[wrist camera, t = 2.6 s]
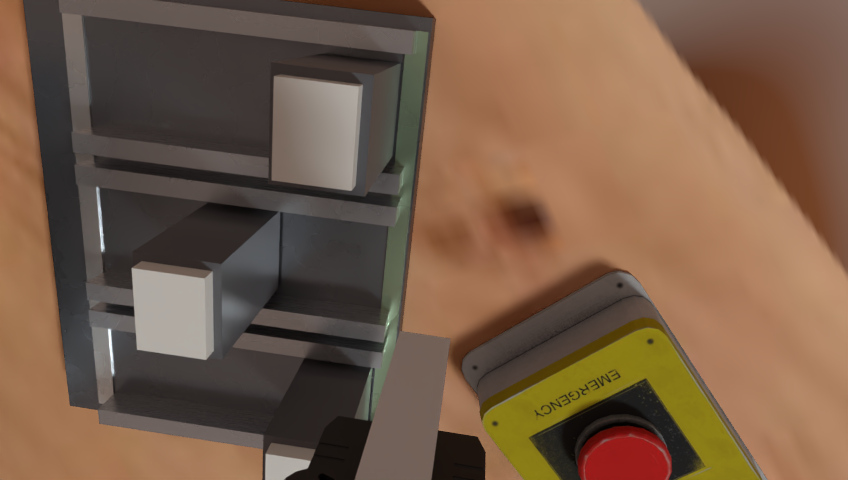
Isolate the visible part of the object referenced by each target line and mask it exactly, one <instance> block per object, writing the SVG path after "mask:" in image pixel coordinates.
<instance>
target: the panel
mask: <svg viewBox="0 0 848 480" xmlns="http://www.w3.org/2000/svg"><path fill="white" fill-rule="evenodd" d="M23 2H24V11H25V20H26V28H27V37H28V46H29V54H30V63H31V72H32V80H33V89H34V98H35V106H36V115H37V124H38V132H39V141H40V150H41V158H42V167H43V176H44V184H45V193H46V202H47V210H48V219H49V228H50V236H51V245H52V254H53V262H54V271H55V280H56V288H57V297H58V306H59V314H60V323H61V332H62V340H63V349H64V358H65V366H66V375H67V384H68V392H69V401H70V406H76V407H82V408H89V409H95V410H98V415H99V424H105V425H111V426H118V427H124V428H131V429H137V430H144V431H150V432H156V433H163V434H169V435H176V436H182V437H189V438H195V439H202V440H208V441H214V442H221V443H227V444H234V445H240V446H247V447H253V448H260V449H263V434H264V433H265V431H266V429H267V427H268V425H269V423H270V421H271V420H272V418H273V416H274V414H275V412H276V410H277V408H278V407H279V405H280V403H281V401H282V399H283V397H284V395H285V393H286V392H287V390H288V388H289V386H290V384H291V382H292V380H293V379H294V377H295V375H296V373H297V371H298V369H299V367H300V365H301V364H302V362H303V360H304V358H309V359H316V360H323V361H329V362H336V363H343V364H350V365H357V366H363V367H370V368H373V372H372V383H371V393H370V404H369V415H368V421H373V418H374V415H375V411H376V408H377V405H378V402H379V398H380V395H381V392H382V388H383V385H384V382H385V379H386V375H387V372H388V369H389V366H390V362H391V359H392V356H393V352H394V349H395V346H396V343H397V339H398V336H399V333H400V331H402V324H403V315H404V305H405V296H406V287H407V278H408V269H409V260H410V251H411V242H412V232H413V223H414V214H415V205H416V196H417V187H418V178H419V168H420V159H421V150H422V141H423V132H424V123H425V114H426V105H427V95H428V86H429V77H430V68H431V59H432V50H433V41H434V32H435V22H436V19H435V18H427V17H418V16H410V15H401V14H393V13H384V12H376V11H367V10H359V9H350V8H341V7H333V6H324V5H316V4H307V3H299V2H290V1H282V0H23ZM322 53H324V54H333V55H341V56H349V57H357V58H366V59H374V60H382V61H390V62H399V63H401V70H400V81H399V92H398V102H397V113H396V124H395V135H394V145H393V156H392V158H391V159H390V161H389V162H388V163H387V165H386V166H385V168H384V169H383V171H382V172H381V174H380V175H379V176H378V178H377V179H376V181H375V182H374V184H373V185H372V187H371V188H370V189H369V191H368V192H367V194H366V195H365V197H364V196H356V195H349V194H341V193H334V192H326V191H319V190H311V189H303V188H296V187H288V186H281V185H273V184H268V172H269V120H270V69H271V62H276V61H282V60H287V59H293V58H299V57H305V56H311V55H317V54H322ZM208 202H212V203H220V204H227V205H235V206H242V207H249V208H257V209H264V210H272V211H279V212H280V240H279V276H278V289H277V290H276V291H275V293H274V294H273V295H272V297H271V298H270V299H269V300H268V302H267V303H266V304H265V306H264V307H263V308H262V309H261V311H260V312H259V313H258V314H257V316H256V317H255V318H254V320H253V321H252V322H251V323H250V325H249V326H248V327H247V329H246V330H245V331H244V332H243V334H242V335H241V336H240V338H239V339H238V340H237V341H236V343H235V344H234V345H233V347H232V348H231V349H230V350H229V352H228V353H227V354H226V355H225V357H224V358H223V359H215V358H209V357H208V358H207V360H203V359H197V358H190V357H183V356H176V355H170V354H163V353H156V352H149V351H143V350H137V342H136V327H135V312H134V297H133V282H132V267H133V254H132V251H134V250H135V249H137V248H138V247H140V246H142V245H143V244H145V243H146V242H148V241H149V240H151V239H152V238H154V237H156V236H157V235H159V234H160V233H162V232H163V231H165V230H166V229H168V228H170V227H171V226H173V225H174V224H176V223H177V222H179V221H180V220H182V219H184V218H185V217H187V216H188V215H190V214H191V213H193V212H194V211H196V210H198V209H199V208H201V207H202V206H204V205H205V204H207V203H208Z"/></svg>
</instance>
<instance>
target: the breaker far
mask: <svg viewBox="0 0 848 480" xmlns="http://www.w3.org/2000/svg"><path fill="white" fill-rule="evenodd" d="M372 372H373V368H370V367H363V366H357V365H350V364H343V363H336V362H329V361H323V360H316V359H309V358H304V360H303V362H302V364H301V365H300V367H299V369H298V371H297V373H296V375H295V377H294V379H293V380H292V382H291V384H290V386H289V388H288V390H287V392H286V393H285V395H284V397H283V399H282V401H281V403H280V405H279V407H278V408H277V410H276V412H275V414H274V416H273V418H272V420H271V421H270V423H269V425H268V427H267V429H266V431H265V433H264V434H263V480H285V478H286V477H288V476H289V475H291V474H293V473H294V472H296V471H300V470H303V469H307V468H308V467H309V464H310V462H311V459H312V457H313V456H314V452H315V450H316V447H317V445H318V444H319V440H320V438H321V436H322V433H323V431H324V428H325V427H326V426H327V425H328V424H329V423H331V422H332V421H333V420H334V419H335V418H336V417H337V416H343V417H349V418H355V419H362V420H368V415H369V404H370V393H371V383H372Z"/></svg>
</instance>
